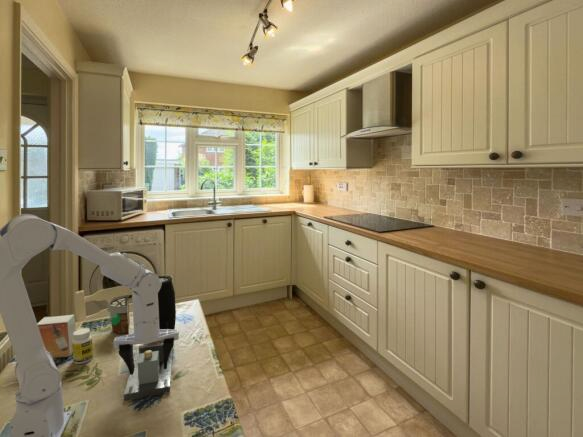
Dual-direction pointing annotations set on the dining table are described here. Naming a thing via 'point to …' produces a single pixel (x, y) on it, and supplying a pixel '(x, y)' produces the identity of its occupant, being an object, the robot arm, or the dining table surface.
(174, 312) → the portable speaker
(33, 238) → the robot arm
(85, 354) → the supplement bottle
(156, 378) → the block
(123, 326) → the food container
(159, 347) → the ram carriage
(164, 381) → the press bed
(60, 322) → the small box
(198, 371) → the dining table surface
